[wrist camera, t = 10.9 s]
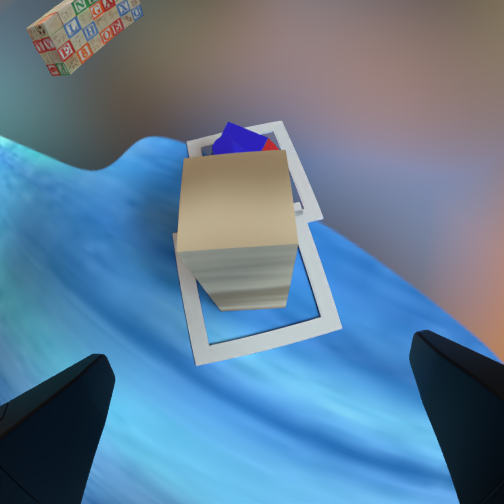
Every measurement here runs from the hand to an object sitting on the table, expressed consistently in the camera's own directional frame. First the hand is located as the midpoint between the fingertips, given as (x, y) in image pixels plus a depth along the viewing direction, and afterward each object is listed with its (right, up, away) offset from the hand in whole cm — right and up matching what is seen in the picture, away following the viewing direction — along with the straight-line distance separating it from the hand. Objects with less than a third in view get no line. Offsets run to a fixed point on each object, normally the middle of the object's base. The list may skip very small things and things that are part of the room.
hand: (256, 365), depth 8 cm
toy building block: (0, +10, +18) cm, 20 cm away
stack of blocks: (-29, +42, +34) cm, 61 cm away
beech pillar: (0, +1, +14) cm, 14 cm away
